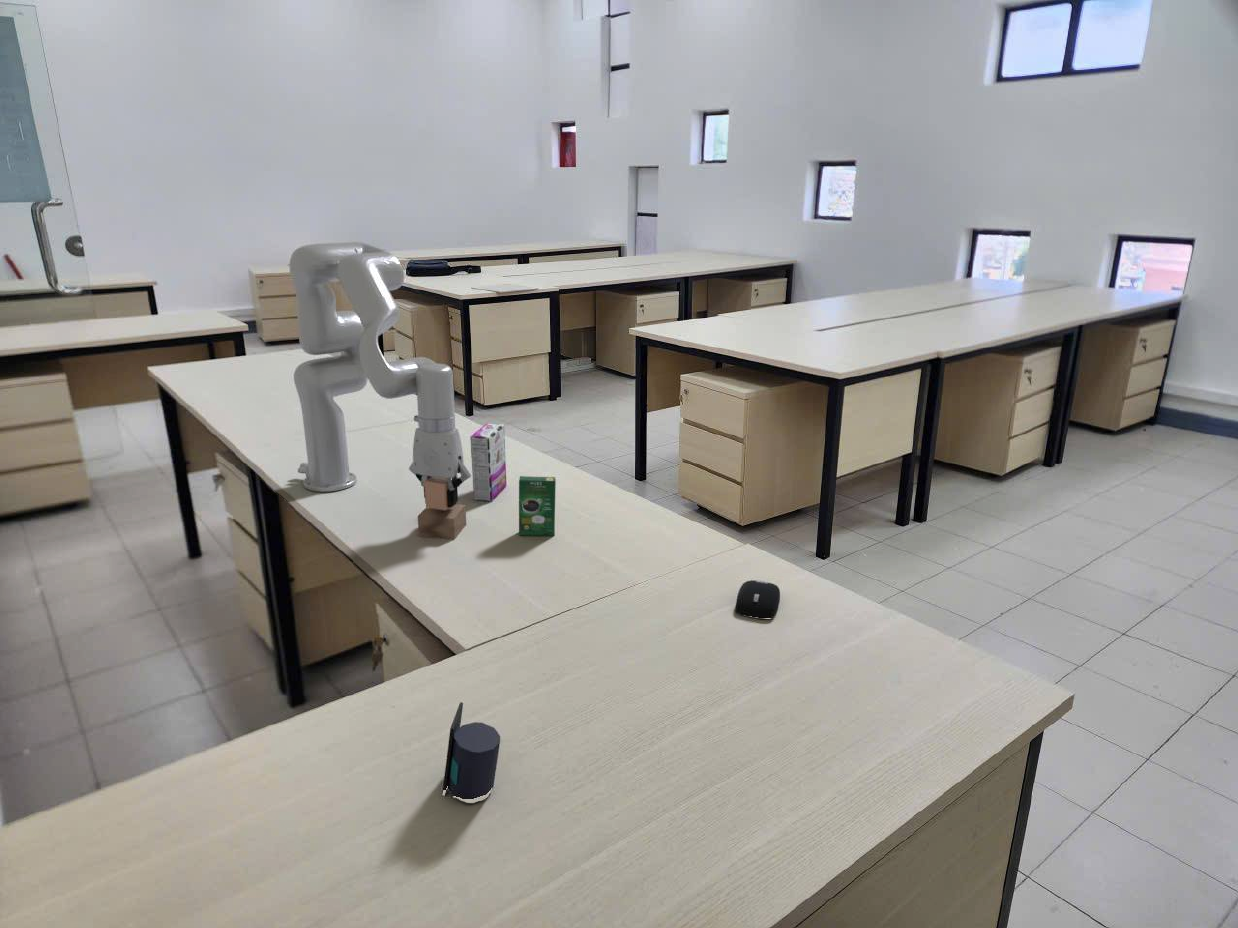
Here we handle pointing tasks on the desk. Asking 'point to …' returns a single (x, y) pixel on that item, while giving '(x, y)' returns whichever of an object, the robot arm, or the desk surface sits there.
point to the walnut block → (442, 522)
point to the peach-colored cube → (436, 493)
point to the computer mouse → (758, 599)
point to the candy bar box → (488, 461)
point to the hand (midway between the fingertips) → (441, 502)
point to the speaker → (471, 758)
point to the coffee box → (537, 506)
